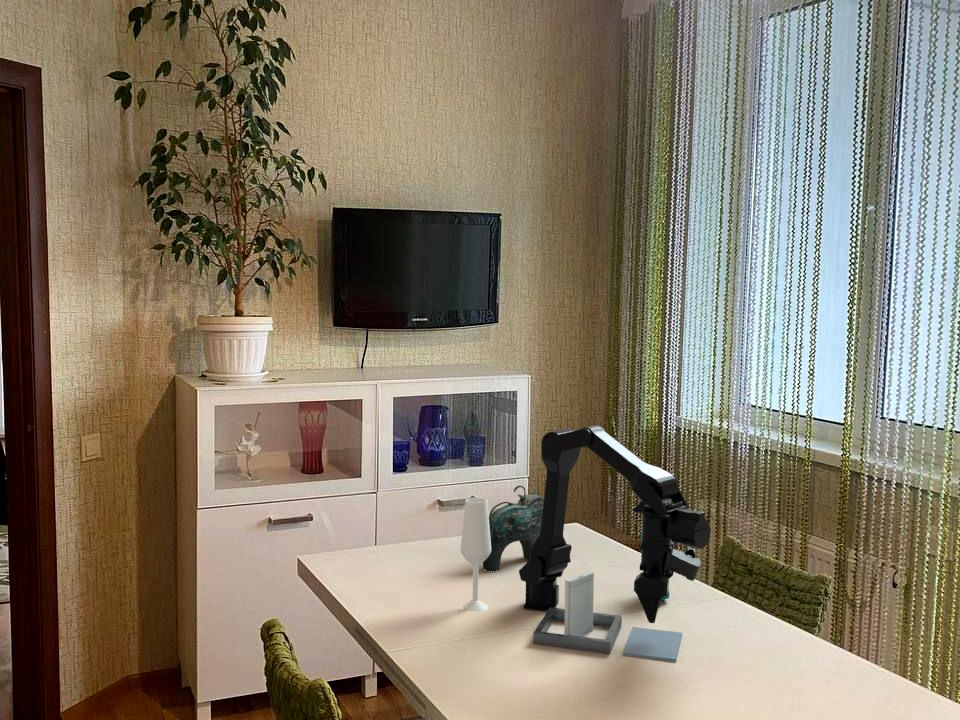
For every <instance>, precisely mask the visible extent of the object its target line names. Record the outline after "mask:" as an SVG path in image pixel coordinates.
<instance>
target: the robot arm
mask: <svg viewBox="0 0 960 720" xmlns="http://www.w3.org/2000/svg"><path fill="white" fill-rule="evenodd" d="M540 445H541V447H540V448H541V460H542V462H543V464H544V467H545V469H546V476H545V485H544V495H543V499H544V503H543V512H542V519H541V530H540V535H539V536H538V538H537V539H536V541H535V543H534V544H533V546H532V549H531V553H530V557H529V560H527V562H526V563H525V564H524V565H523V566H522V567H521V568H520V569H519V570H518V573H519V578H520V581H523V582H525V600H524V601H525V603H524V604H523V606H522V607H523V609H524V610H531V611H541V612H547V611H548V609H549V608H550V607H551V608H557V605H559V601H560V598H559V596H560V593H559V592H560V585H559V584H557V579H558V578H561V577H563V574H564V571H565V570H566V569H567V567H568V566H569V565H568V564H569V563H571V551H572V544H569V543H567V542H566V539H565V537H564V529H565V522H566V521H565V519H566V513H567V512H566V510H567V501H568V493H569V492H568V491H569V485H570V484H569V483H570V476H571V471H572V470H573V468H574V467H575V465H576V463H577V462H578V461H579V456H580V453H581V449H583V448H588V449H589V450H590V451H591V452H593V453H594V454H595V455H596V456H597V457H598V458H601V460H602V461H604V462H605V463H606V464H607V465H609V466H610V467H611V468H612V469H614V470H615V471H616V472H617V473H618V474H620V475H621V476H622V477H623V478H624V479H626V481H627V482H628V483H629V486H630V488H631V490H632V491H631V492H632V493H634V494H635V496H637V498H638V499H639V500H640V502H639V503H638V504H637V505H636V506H635V507H633V508H632V511H633V512H634V513H638V514H642V518H641V519H642V520H641V523H642V525H641V532H642V542H641V541H640V544H639V548H640V549H639V550H640V551H641V552H640V553H641V556H640V558H641V559H640V564H639V571H642V572H640V573H638V574H637V575H636V576H635V579H634V581H633V592H635V594H636V596H637V597H638V600H639V601H640V605H641V606H642V609H643V611H644V614H645V616H646V619H647V621H648V623H649V624H655V623H656V620H657V614H658V610H659V608H660V606H661V602H662V600H661V599H662V598H663V597H666V596H667V594H668V589H669V588H670V587H669V586H670V579H671V578H672V577H673V576H674V573H676V574H678V575H680V576H682V577H684V578H686V579H687V580H689V581H695V580H696V576H697V574H698V572H699V570H700V568H701V563H702V561H701V560H700V558H699V557H697V551H696V549H700V550H701V549H704V548H705V547H706V546H707V544H708V543H709V541H710V537H711V528H712V527H710V522H709V521H708V520H707V518H706V513H705V511H700V510H691V509H689V508H690V506H689V504H688V503H687V500H686V499H685V497H684V494H683V493H682V491H681V490H680V488H679V486H678V480H677V478H676V477H675V476H674V475H673V474H671V473H670V472H668V471H666V470H664V469H663V468H661V467H659V466H655V465H652V464H649V463H647V462H645V461H643V460H642V459H640V458H639V457H638V456H636V455H635V454H634V453H633V452H632V451H630V450H629V449H627V448H626V447H625V446H624V445H622V444H621V443H620V442H618V440H616V439H615V438H614V437H612V436H611V435H610V434H609V433H607V432H606V431H605V428H603V427H601V426H599V425H591V426H585V427H582V428H580V429H577V430H574V429H573V428H565V429H559V430H553V431H549V432H546V433H545V434H544V435H543V436H542V438H541V443H540ZM668 502H671V503H668ZM664 503H667V504H664ZM675 544H679V545H683V546H688V547H687V548H686V549H684V550H678V549H674V548H675ZM695 548H696V549H695Z"/></svg>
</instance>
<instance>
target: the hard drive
mask: <svg viewBox="0 0 960 720" xmlns="http://www.w3.org/2000/svg"><path fill="white" fill-rule="evenodd" d="M594 577H595V572H594V571H585V572H583V573H580V574H577V575H574V576H572V577H569V578H566V579H565V580H564V581H565V582H564V609H565V622H564V629H563V630H564V633H563V634H564V635H572V636H580V637H585V636H586V635H588V634H590V633H593V631H594V625H593V612H594V596H595V595H594V593H595V590H594V587H595V585H594V583H595V581H594V580H595V578H594Z"/></svg>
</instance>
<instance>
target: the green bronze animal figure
mask: <svg viewBox="0 0 960 720" xmlns="http://www.w3.org/2000/svg"><path fill="white" fill-rule="evenodd" d="M518 488H522V489H523V491H524V492H523V493H524V494H520V493H519V494H517V496H518V497H519V500H518V501H517V502H516V503H513V502H509V501H502V502H500V503H498V504H496V505H495V506H493V507H492V508H491V510H490V512H489V526H490V538H491V553H490V555H489V557H488V558H487V559H486V560H485V561H484V562H483V563H482V570H483V569H485V570H487V571H486V572H488V571H490V572H489V573H492V572H491V571H495V572H497V571H496V570H498V571H500V570H499V569H500V565H501V558H502V557H503V556H502V555H503V553H504V551H505V549H506V548H507V547H508V546H509V545H510V544H512V543H515V542H519V543H520V546H521V548H522V554H523V559H524V558H525V559H524V560H526V559H527V560H526V561H529V557H530V553H531V549H532V546H533V544H534V543H535V541H536V539H537V538H538V536H539V535H540V530H541V521H542V512H543V503H544V497H542V496H539V495H538V494H537V491H536V490H535V489H534V488H533V489H532V492H531V493H527V494H526V488H525V486H522V485H517V486H515V487H514V489H513V493H516V491H517V490H518ZM503 504H505V505H503ZM502 505H503V506H502ZM499 506H501V507H499ZM496 508H497V509H496ZM485 570H484V571H485Z"/></svg>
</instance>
